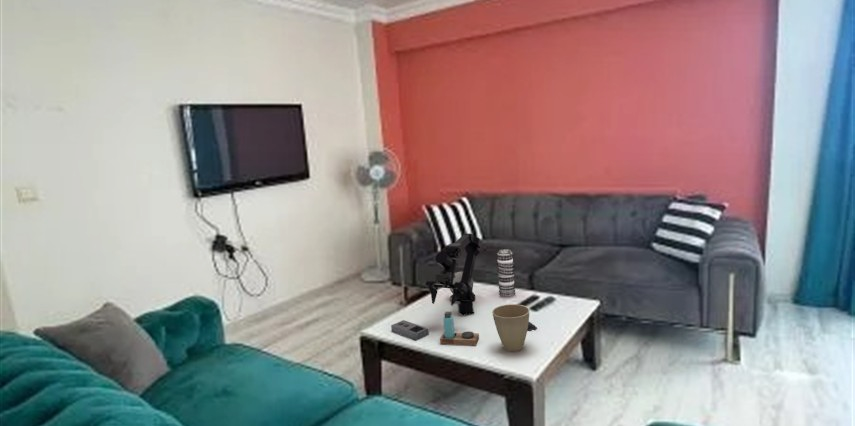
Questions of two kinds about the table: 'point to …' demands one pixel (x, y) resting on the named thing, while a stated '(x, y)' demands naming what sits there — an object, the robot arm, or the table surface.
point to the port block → (410, 330)
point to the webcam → (458, 279)
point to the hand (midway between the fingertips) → (442, 304)
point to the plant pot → (511, 325)
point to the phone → (531, 327)
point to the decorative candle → (506, 274)
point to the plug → (448, 325)
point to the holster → (461, 339)
